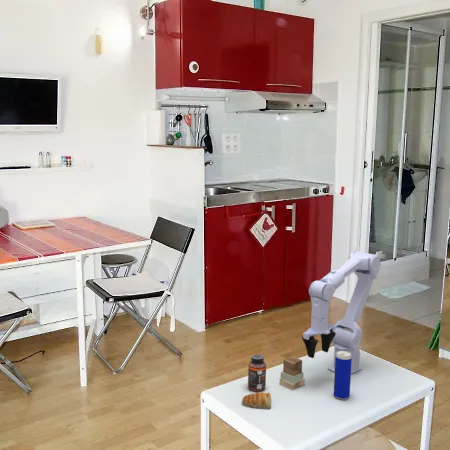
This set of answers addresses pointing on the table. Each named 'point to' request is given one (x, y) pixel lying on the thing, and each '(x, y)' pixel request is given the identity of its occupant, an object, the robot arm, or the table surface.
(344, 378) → the beverage can
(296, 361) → the walnut cube
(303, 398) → the table surface
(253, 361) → the supplement bottle
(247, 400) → the pastry
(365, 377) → the table surface
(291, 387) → the tower base
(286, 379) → the tower top
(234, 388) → the table surface
